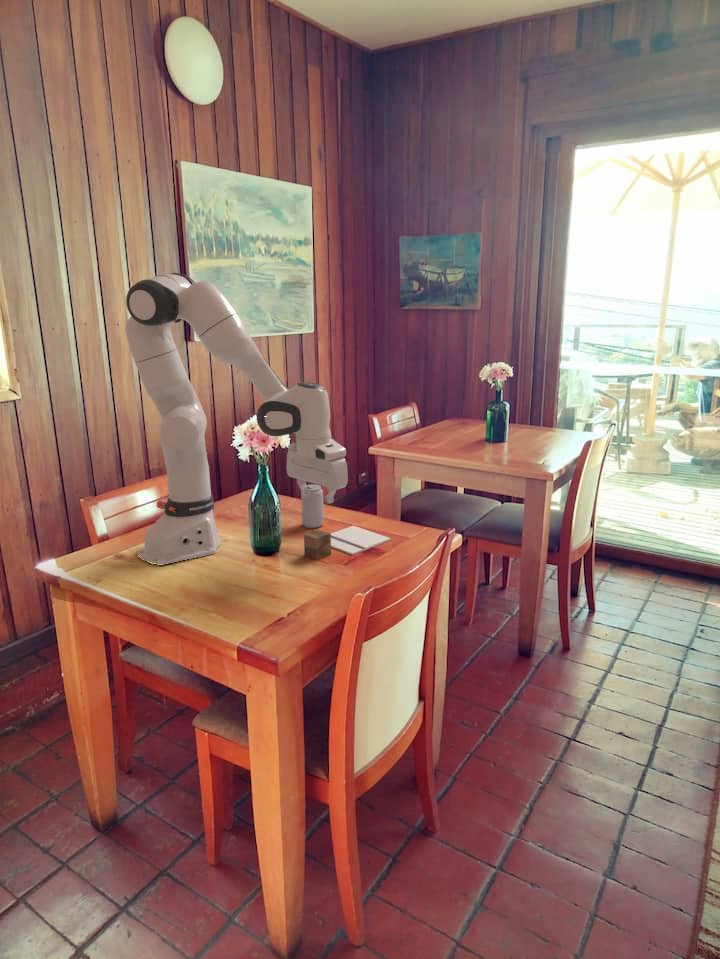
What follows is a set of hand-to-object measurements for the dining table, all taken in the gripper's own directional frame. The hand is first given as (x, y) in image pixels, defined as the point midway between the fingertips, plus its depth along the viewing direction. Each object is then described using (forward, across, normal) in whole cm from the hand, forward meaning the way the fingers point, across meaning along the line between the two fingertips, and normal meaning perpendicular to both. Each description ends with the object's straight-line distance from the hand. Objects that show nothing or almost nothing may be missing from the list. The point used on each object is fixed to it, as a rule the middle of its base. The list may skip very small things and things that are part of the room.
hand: (317, 498), depth 170 cm
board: (+16, -1, +13) cm, 21 cm away
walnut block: (+16, 0, 0) cm, 16 cm away
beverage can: (+16, -18, +14) cm, 28 cm away
